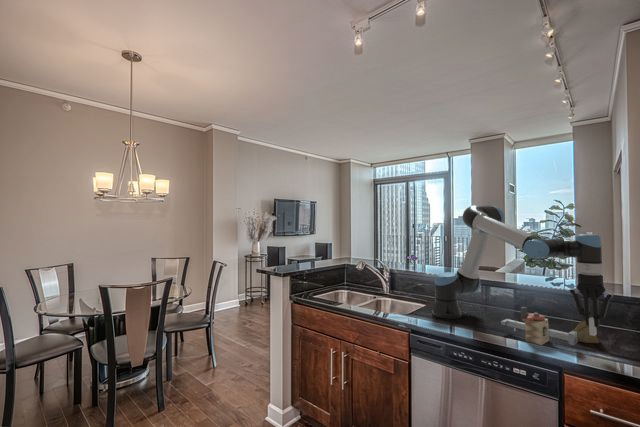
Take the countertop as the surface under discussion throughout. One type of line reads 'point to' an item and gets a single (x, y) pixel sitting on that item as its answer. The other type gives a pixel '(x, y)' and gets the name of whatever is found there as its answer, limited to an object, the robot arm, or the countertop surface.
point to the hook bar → (545, 331)
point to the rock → (585, 333)
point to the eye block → (536, 331)
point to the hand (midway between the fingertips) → (593, 334)
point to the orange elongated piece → (530, 315)
